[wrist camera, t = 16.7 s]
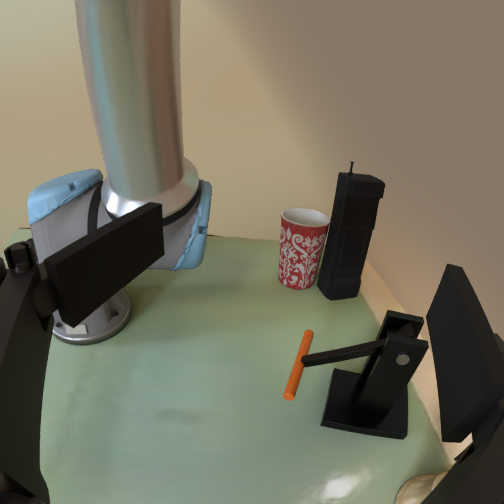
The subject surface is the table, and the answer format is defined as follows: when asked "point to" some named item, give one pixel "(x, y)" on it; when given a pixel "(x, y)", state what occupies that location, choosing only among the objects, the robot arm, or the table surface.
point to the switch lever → (335, 355)
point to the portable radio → (349, 234)
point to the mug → (301, 246)
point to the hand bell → (418, 488)
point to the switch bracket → (378, 385)
